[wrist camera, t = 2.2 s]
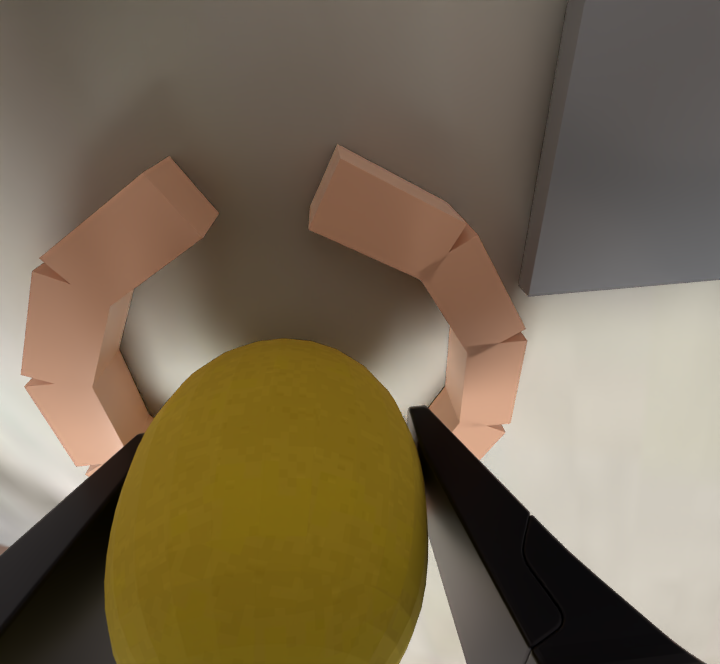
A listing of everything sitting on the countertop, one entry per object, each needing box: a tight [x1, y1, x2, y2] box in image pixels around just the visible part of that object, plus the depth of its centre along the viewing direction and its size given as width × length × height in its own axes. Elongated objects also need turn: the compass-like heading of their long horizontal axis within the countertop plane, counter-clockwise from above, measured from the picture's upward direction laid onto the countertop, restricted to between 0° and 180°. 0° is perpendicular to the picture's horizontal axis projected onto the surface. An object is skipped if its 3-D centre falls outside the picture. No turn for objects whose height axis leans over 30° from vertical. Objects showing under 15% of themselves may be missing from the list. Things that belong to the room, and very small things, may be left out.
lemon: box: [104, 338, 428, 664], centre depth 8 cm, size 6×6×8 cm
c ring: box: [21, 144, 527, 477], centre depth 11 cm, size 11×11×2 cm
